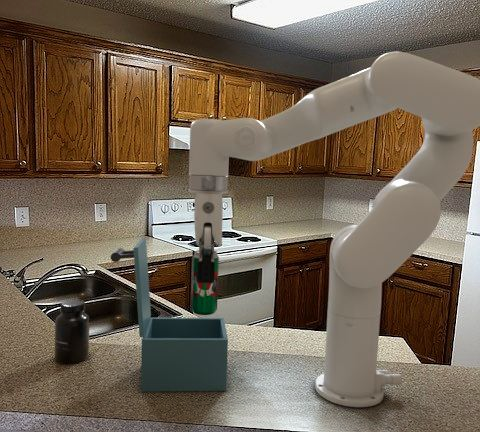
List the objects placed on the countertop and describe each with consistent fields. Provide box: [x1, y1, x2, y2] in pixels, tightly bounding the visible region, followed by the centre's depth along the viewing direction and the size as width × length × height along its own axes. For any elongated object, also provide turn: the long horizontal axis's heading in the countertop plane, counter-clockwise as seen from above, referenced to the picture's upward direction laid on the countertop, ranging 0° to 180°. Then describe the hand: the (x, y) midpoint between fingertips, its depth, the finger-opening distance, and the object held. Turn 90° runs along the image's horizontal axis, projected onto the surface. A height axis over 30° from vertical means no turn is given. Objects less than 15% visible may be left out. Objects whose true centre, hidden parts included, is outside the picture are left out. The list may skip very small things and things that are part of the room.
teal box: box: [140, 317, 229, 393], centre depth 89 cm, size 16×13×10 cm
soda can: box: [190, 249, 220, 316], centre depth 88 cm, size 5×5×12 cm
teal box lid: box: [110, 237, 152, 338], centre depth 87 cm, size 16×13×6 cm
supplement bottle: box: [54, 299, 90, 365], centre depth 95 cm, size 7×7×12 cm
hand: (205, 277), depth 88 cm, fingers closed on soda can, 5 cm apart
